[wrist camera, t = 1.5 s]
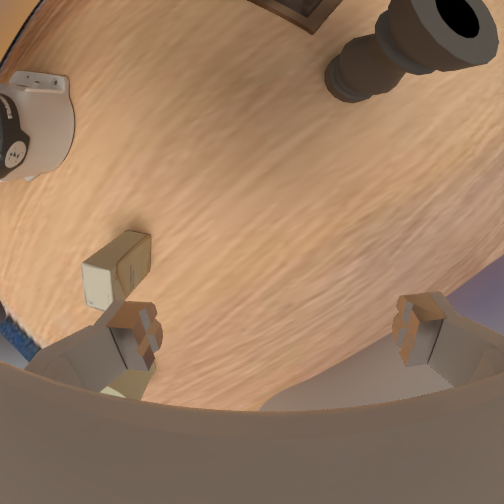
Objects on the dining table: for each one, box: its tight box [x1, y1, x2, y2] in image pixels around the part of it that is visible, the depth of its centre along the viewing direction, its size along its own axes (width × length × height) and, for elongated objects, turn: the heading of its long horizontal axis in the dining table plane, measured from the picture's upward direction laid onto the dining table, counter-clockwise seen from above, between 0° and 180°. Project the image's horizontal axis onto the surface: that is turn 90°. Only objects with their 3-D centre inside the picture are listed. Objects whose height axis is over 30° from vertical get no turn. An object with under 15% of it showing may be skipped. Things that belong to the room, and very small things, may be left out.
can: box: [100, 361, 155, 400], centre depth 46 cm, size 9×9×12 cm
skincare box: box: [81, 231, 151, 312], centre depth 36 cm, size 6×4×12 cm
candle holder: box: [325, 0, 499, 103], centre depth 19 cm, size 6×6×25 cm
